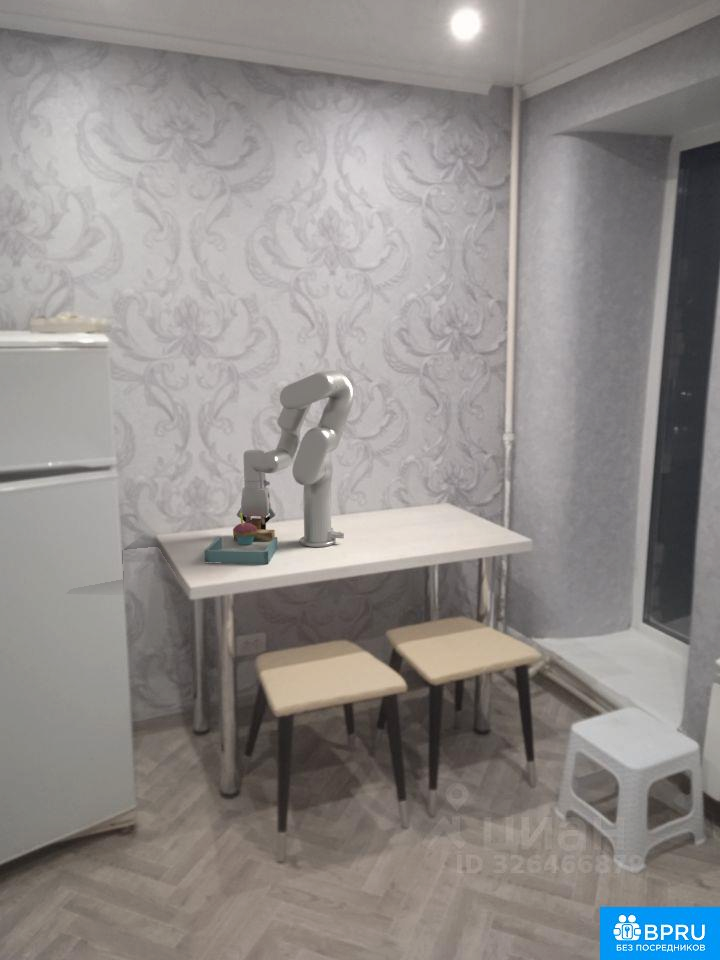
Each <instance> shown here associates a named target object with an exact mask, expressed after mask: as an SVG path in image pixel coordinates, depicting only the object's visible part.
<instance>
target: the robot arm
mask: <svg viewBox="0 0 720 960" xmlns="http://www.w3.org/2000/svg"><path fill="white" fill-rule="evenodd" d="M326 398H327V399H328V400H327V403H326V404H325V406H324V409H323V411H322V413H321V417H320V419H319V422H318V424H317V425H316V426H314V427H311V428H310V429H309V430H307V431H306V433H304V435H303V437H302V439H301V429H302V427H303V425H304V422H305V421H306V418H307V415H308V413H309V411H310V408H311V405H312V404H313V403H316V402H318V401H321V400H325V399H326ZM279 402H280V405H281V407H282V409H281V412H280V414H279V416H278V418H277V421H276V422H277V426H278V427H279V429H280V433H281V435H280V437H279V441H278V444H277V445H276V447H275V449H272V450H270V451H266V452H264V451H263V450H262V449H248V450H245V451H244V452H243V458H242V459H243V477H244V478H243V481H244V487H242V492H241V499H240V500H241V501H240V503H241V504H240V509H239V510H238V512H237V513H236V516H237V517H238V518H240V511H241V513H242V518H243V523H249V521H250V520H251V519H252V517H260V518H261V520H262V524H261V529H262V530H267V523H268V522H269V521H270V520H271V519H273V518H274V517H275V516H276V513H275V512H274V509H273V508H272V507H271V505H272V504H271V496H270V491H269V487H268V486H270V485H271V484H270V481H267V478H266V474H275V473H277V472H279V471H282V470H285V469H287V468H288V467H289V466H290V465H291V463H292V462H293V465H292V476H293V478H294V480H295V482H296V483H297V484H299V485H301V486H303V494H302V495H303V536H302V537H300V539H299V543H300V544H301V545H302V546H306V547H311V548H323V547H324V548H325V547H330V546H332V545H334V544H335V543H336V542H337V541H336V539H344V538H345V534H344V533H345V532H342V531H334V527H332V480H333V471H334V470H333V468H334V467H333V463H332V460H331V458H330V457H329V456H328V454H329V453H331V452H333V451H335V450H336V449H337V448H338V446H339V443H340V440H341V438H342V436H343V432H344V430H345V428H346V427H345V426H346V424H347V420H348V417H349V415H350V413H351V409H352V405H353V403H354V389H353V385H352V383H351V380H349V379H348V377H347V376H346V375H345V374H343V373H342V372H340V371H337V370H328V371H321V372H316V373H314V374H311V375H309V376H306V377H304V378H301V379H300V380H297V381H294V382H292V383H289V384H287V385H286V386H284V387H283V389H282V390H281V391H280V393H279ZM300 439H301V441H300ZM293 460H294V461H293Z"/></svg>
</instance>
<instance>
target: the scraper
mask: <svg viewBox="0 0 720 960" xmlns="http://www.w3.org/2000/svg"><path fill="white" fill-rule="evenodd" d="M249 523H251V524H253V525H254V526H256V527H257V530H258V533H257V534H255V536H254V540H253V542H254V541H255V542H271V541H272V539H273V538H274V537H276V535H275V531H276V530H275V529H266V530H262V529H261V524H262V520H261V517H256V518H255V517H251V520H250V521H249ZM232 534H233V533H232ZM233 541H238V539H237V537H236V536H235V535H234V534H233Z"/></svg>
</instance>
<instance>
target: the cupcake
mask: <svg viewBox="0 0 720 960" xmlns="http://www.w3.org/2000/svg"><path fill="white" fill-rule="evenodd" d="M239 519H240V523H239V524H237V525H235V526H234V527H233V528H232V529H233V530H232V534H234V535H235V536H236V537H237V539H238V540H237V541H238V544H239V545H241V546H249V545H252V544H253V543H254V541H253V540H254V536H255V534H257V533H258V530H257V527H256V526H254V525H253V524H251V523H245V522H244V521H243V518H242V513H241V511H240V517H239Z"/></svg>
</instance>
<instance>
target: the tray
mask: <svg viewBox="0 0 720 960" xmlns="http://www.w3.org/2000/svg"><path fill="white" fill-rule="evenodd" d="M222 548H223V536H221V535H218V536H216V538H214V540H213V541H212V542H211V543H210V545H208V546H207V548H206V549H205V550H204V555H203V556H204V563H205V562H221V563H220V564H229V563H243V564H242V565H244V563H245V565H247V564H248V565H269V563H270V561H271V560H272V559H273V557H274V555H275V553H276V552H277V550H278V549H279V548H278V537H277V536H275V537H274V538H273V539H272V541H269V544H268V545H267V547H266V548H265V550H234V549H233V550H232V549H230V550H228V549H227V550H225V549H224V550H223V549H222Z"/></svg>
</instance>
